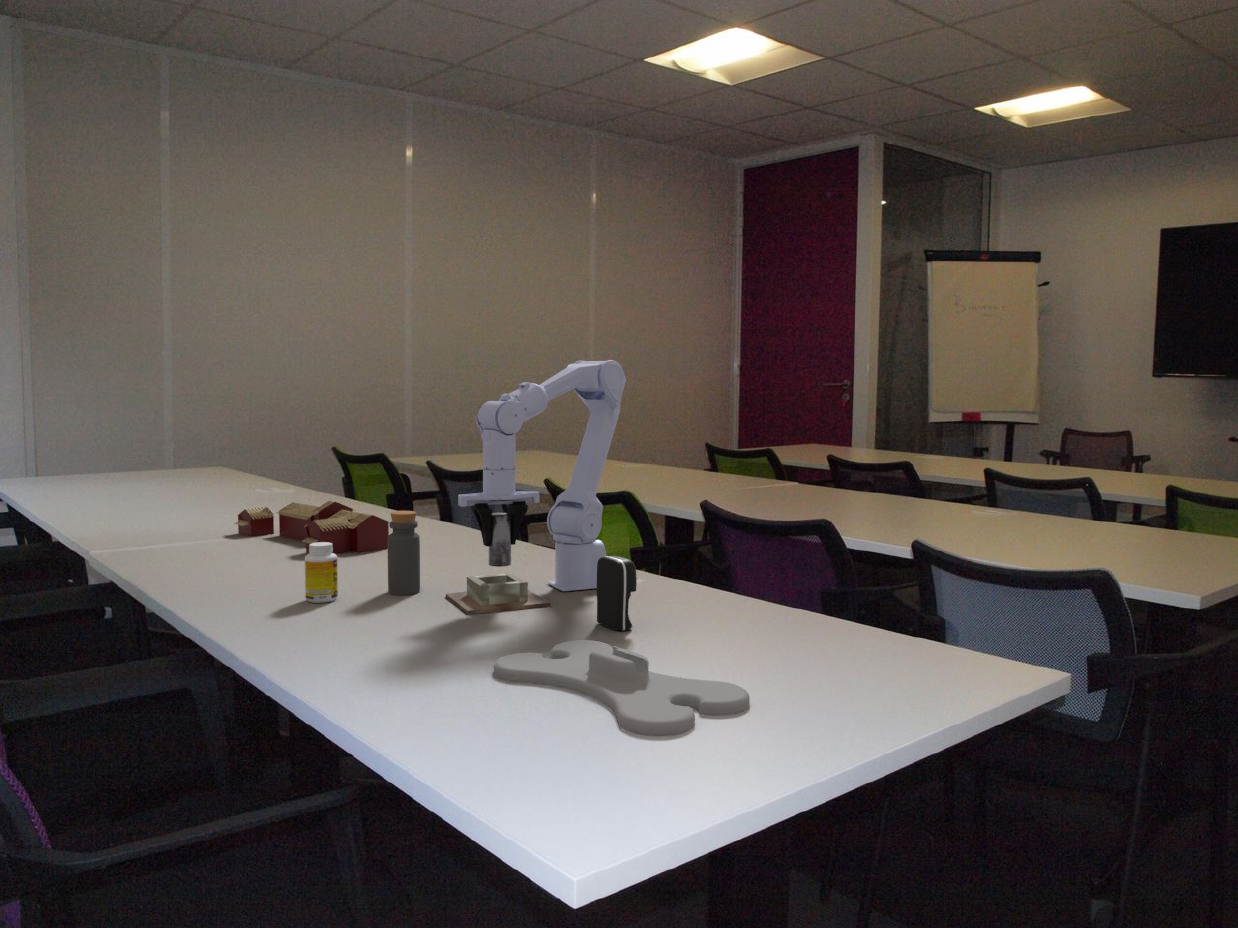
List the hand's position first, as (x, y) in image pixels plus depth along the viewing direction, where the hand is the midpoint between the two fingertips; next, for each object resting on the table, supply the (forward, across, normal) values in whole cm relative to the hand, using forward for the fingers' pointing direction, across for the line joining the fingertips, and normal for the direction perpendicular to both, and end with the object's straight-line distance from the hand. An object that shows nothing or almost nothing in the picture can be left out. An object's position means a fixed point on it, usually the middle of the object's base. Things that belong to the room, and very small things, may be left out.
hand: (499, 544), depth 169 cm
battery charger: (+11, +12, -24) cm, 28 cm away
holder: (+11, -1, -50) cm, 52 cm away
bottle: (+11, -14, +15) cm, 23 cm away
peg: (+3, 0, 0) cm, 4 cm away
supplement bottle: (+11, -29, +14) cm, 34 cm away
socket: (+10, 0, +1) cm, 10 cm away
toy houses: (+11, -22, +78) cm, 82 cm away
